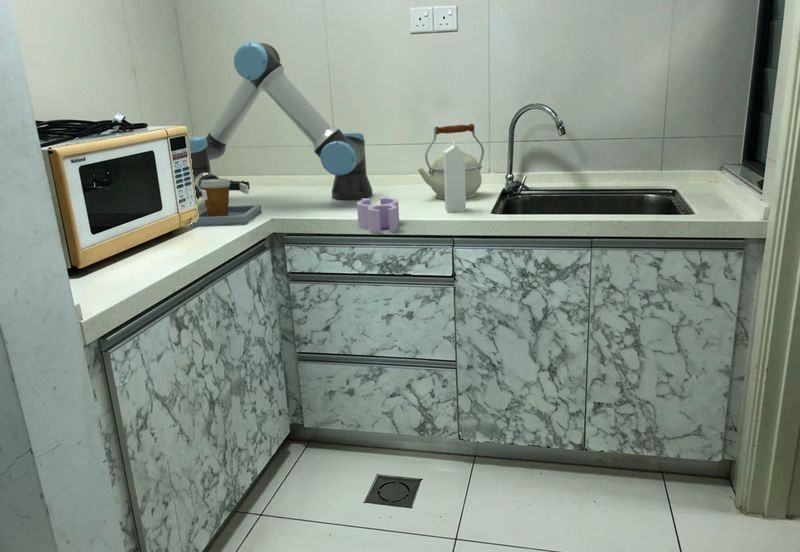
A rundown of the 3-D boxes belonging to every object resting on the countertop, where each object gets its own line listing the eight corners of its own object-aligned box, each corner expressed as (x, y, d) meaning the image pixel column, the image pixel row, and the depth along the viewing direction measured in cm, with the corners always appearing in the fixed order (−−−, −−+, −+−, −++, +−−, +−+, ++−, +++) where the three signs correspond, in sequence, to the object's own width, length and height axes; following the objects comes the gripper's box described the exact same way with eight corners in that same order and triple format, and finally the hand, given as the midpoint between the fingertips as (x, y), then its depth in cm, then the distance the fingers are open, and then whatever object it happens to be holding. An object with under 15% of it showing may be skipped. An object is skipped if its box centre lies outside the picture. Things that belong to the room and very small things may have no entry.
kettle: (473, 189, 246) (472, 121, 239) (495, 197, 230) (494, 124, 222) (410, 196, 239) (407, 126, 232) (428, 205, 223) (425, 130, 215)
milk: (463, 208, 216) (462, 139, 209) (465, 211, 210) (465, 141, 203) (444, 208, 215) (443, 140, 209) (446, 212, 210) (445, 142, 203)
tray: (261, 212, 225) (260, 204, 224) (246, 224, 207) (245, 216, 207) (210, 214, 226) (209, 206, 225) (190, 226, 209) (189, 218, 208)
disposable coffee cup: (239, 215, 217) (236, 179, 214) (216, 219, 210) (213, 182, 207) (219, 213, 222) (216, 178, 219) (196, 217, 215) (193, 180, 212)
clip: (407, 231, 189) (405, 208, 187) (364, 235, 187) (362, 211, 185) (394, 217, 208) (393, 195, 206) (355, 221, 206) (354, 199, 204)
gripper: (244, 190, 236) (265, 198, 218) (173, 200, 224) (189, 209, 206) (242, 169, 234) (262, 176, 216) (170, 178, 222) (185, 186, 204)
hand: (226, 192), depth 211 cm, fingers open, 13 cm apart
